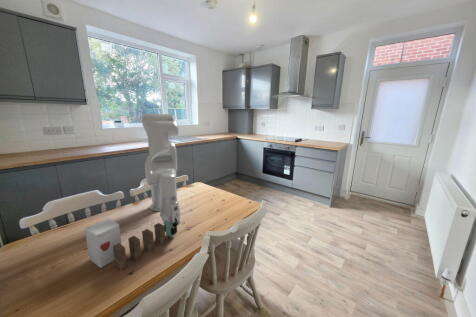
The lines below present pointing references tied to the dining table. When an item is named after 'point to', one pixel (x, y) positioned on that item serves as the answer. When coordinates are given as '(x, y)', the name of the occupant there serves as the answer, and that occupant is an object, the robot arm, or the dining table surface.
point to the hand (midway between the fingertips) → (170, 231)
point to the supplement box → (102, 241)
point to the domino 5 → (169, 228)
